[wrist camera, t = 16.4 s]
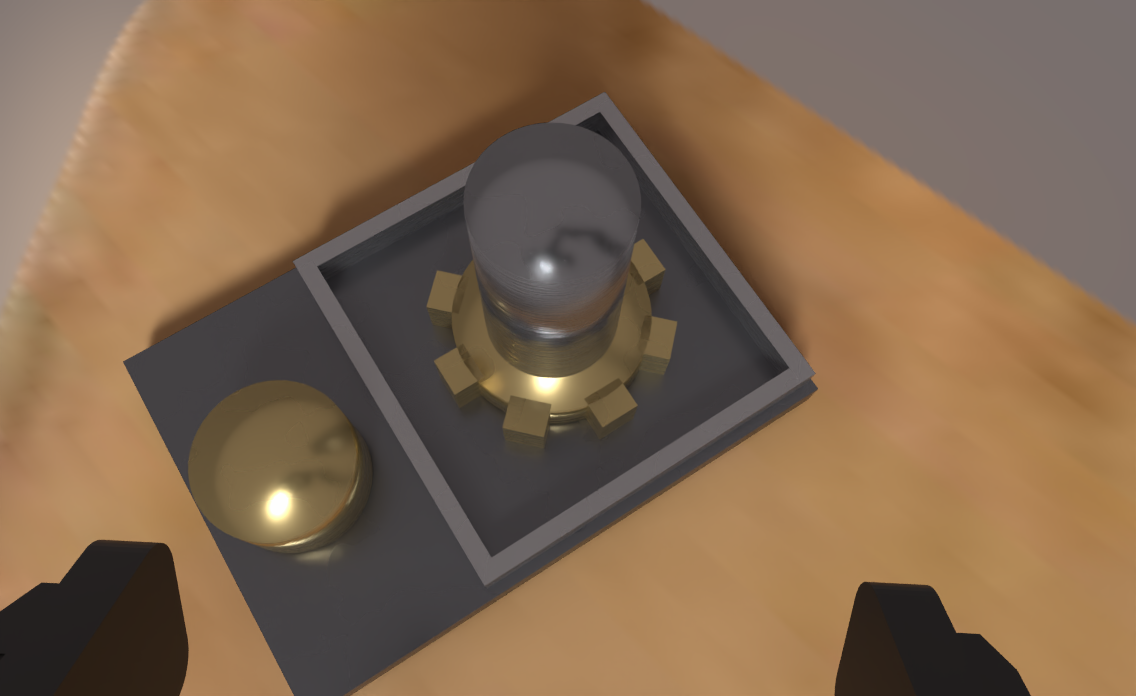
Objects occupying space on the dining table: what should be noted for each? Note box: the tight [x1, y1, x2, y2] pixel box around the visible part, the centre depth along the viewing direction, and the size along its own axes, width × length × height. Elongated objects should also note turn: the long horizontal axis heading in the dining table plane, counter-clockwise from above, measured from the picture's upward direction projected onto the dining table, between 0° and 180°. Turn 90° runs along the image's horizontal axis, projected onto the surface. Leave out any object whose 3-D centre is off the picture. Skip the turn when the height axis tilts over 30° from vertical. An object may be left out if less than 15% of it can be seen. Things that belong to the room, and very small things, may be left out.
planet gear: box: [426, 123, 677, 449], centre depth 23 cm, size 7×7×8 cm
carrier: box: [123, 92, 818, 696], centre depth 25 cm, size 16×11×4 cm
